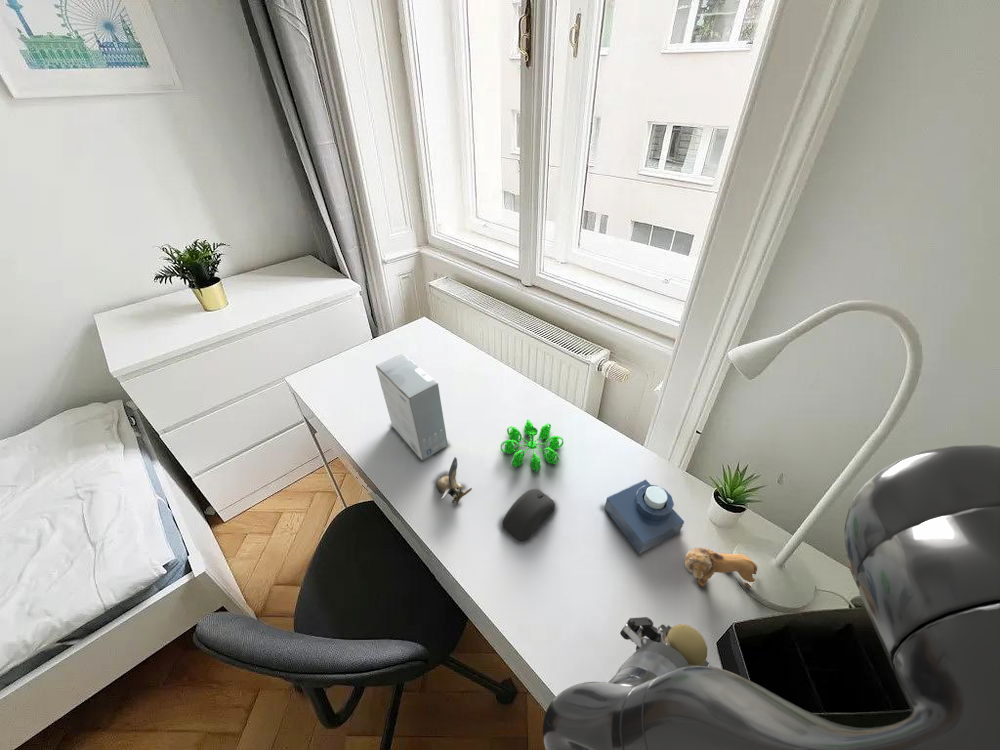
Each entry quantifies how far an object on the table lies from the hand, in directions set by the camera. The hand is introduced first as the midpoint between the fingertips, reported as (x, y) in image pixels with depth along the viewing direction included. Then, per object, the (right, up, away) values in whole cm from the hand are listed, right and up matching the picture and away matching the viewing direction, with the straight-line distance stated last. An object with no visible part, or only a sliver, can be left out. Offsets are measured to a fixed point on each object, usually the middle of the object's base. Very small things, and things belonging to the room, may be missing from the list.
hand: (684, 648), depth 59 cm
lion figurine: (+12, +3, +15) cm, 19 cm away
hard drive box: (-47, +24, +43) cm, 69 cm away
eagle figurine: (-37, +14, +31) cm, 50 cm away
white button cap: (+4, +15, +21) cm, 26 cm away
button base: (+2, +10, +24) cm, 26 cm away
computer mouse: (-21, +10, +25) cm, 34 cm away
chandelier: (-19, +22, +39) cm, 48 cm away
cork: (-1, -5, +3) cm, 6 cm away
